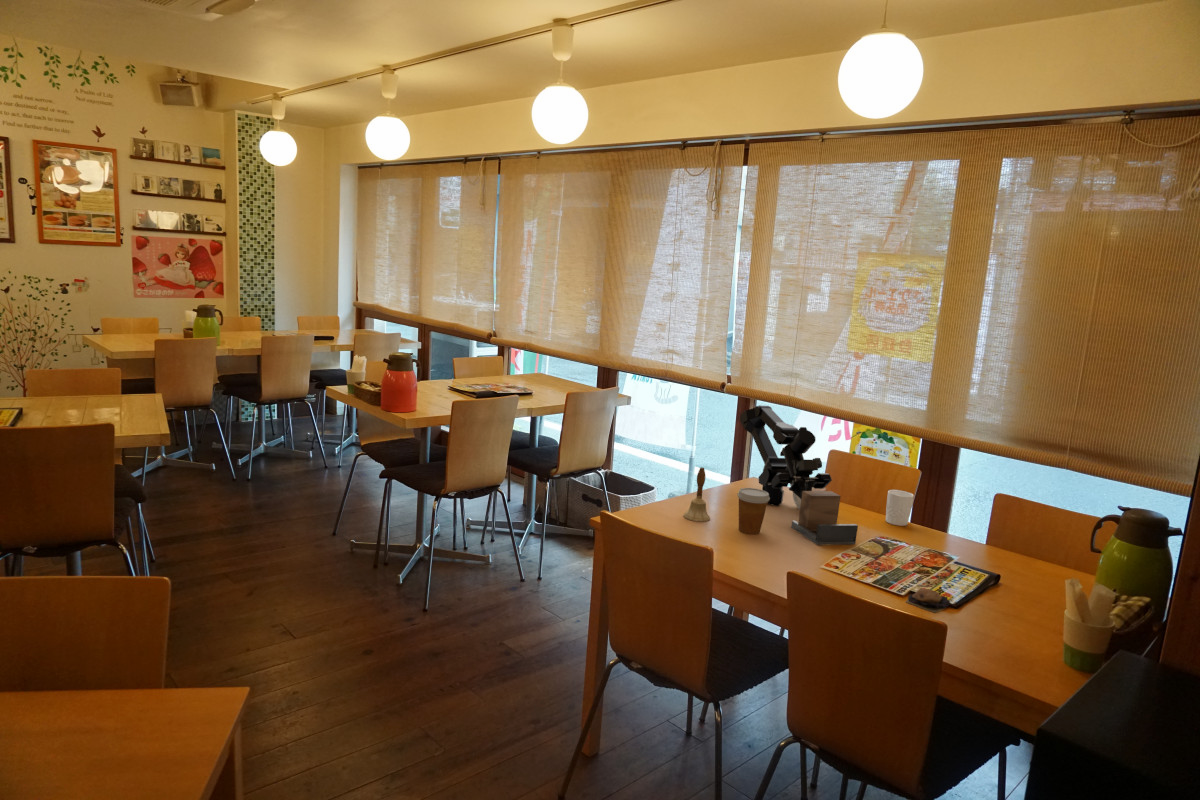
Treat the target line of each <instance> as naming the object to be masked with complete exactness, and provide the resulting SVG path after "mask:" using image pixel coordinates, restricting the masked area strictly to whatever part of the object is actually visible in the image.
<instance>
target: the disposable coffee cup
mask: <svg viewBox="0 0 1200 800" xmlns="http://www.w3.org/2000/svg"><path fill="white" fill-rule="evenodd" d="M737 498H738V531H740V532H741V533H745V534H748V535H758V534H760V533H761V529H762V525H763V523H764V518H765V514H766V510H767V507H768V504H767V503H768V502H769V500H770V497H769V494H768V492H766V491H763V490H762V489H761V488H760V489H758V488H753V487H743V488H740V489H739V491H738V493H737Z"/></svg>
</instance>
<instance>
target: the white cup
mask: <svg viewBox="0 0 1200 800" xmlns="http://www.w3.org/2000/svg"><path fill="white" fill-rule="evenodd" d="M914 497H915V496H914V494H913V493H912V492H908V491H905V490H900V489H889V490H888V491H887V497H886V508H885V522H887V523H889V524H890V525H895V526H900V527H901V526H903V527H904V526H908V523H909V518H910V515H911V510H912V506H913V501H914Z"/></svg>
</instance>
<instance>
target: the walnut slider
mask: <svg viewBox="0 0 1200 800" xmlns="http://www.w3.org/2000/svg"><path fill="white" fill-rule="evenodd" d="M840 504H841V495H839V494H838V493H836V492H834V491H832V490H826V491H802V499H801V506H800V509H799V515H798V521H797V522H798V523H799V524H801V525H803V526H804V527H806V528H807V529H809V530H810V531H817V526H818V524H838V517H839V511H840V510H839V509H840Z"/></svg>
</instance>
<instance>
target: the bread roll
mask: <svg viewBox="0 0 1200 800" xmlns="http://www.w3.org/2000/svg"><path fill="white" fill-rule="evenodd" d="M905 603H906V604H908V605H910V606H913V607H916V608H919V609H921V610H925V611H927V612H930V613H932V614H937V613H939V612H941V611H943V610H945V609H947V608H948V607H949V606H950V604H951V603H950V600H949V599H948V597H947V596H945V595H944V596H943V595H940V593H938V592H936V591H935V590H932V589H930V588H919V589H918V590H917V591H915V592H914V593H913V594H909V595H908V597H907V600H905Z"/></svg>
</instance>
